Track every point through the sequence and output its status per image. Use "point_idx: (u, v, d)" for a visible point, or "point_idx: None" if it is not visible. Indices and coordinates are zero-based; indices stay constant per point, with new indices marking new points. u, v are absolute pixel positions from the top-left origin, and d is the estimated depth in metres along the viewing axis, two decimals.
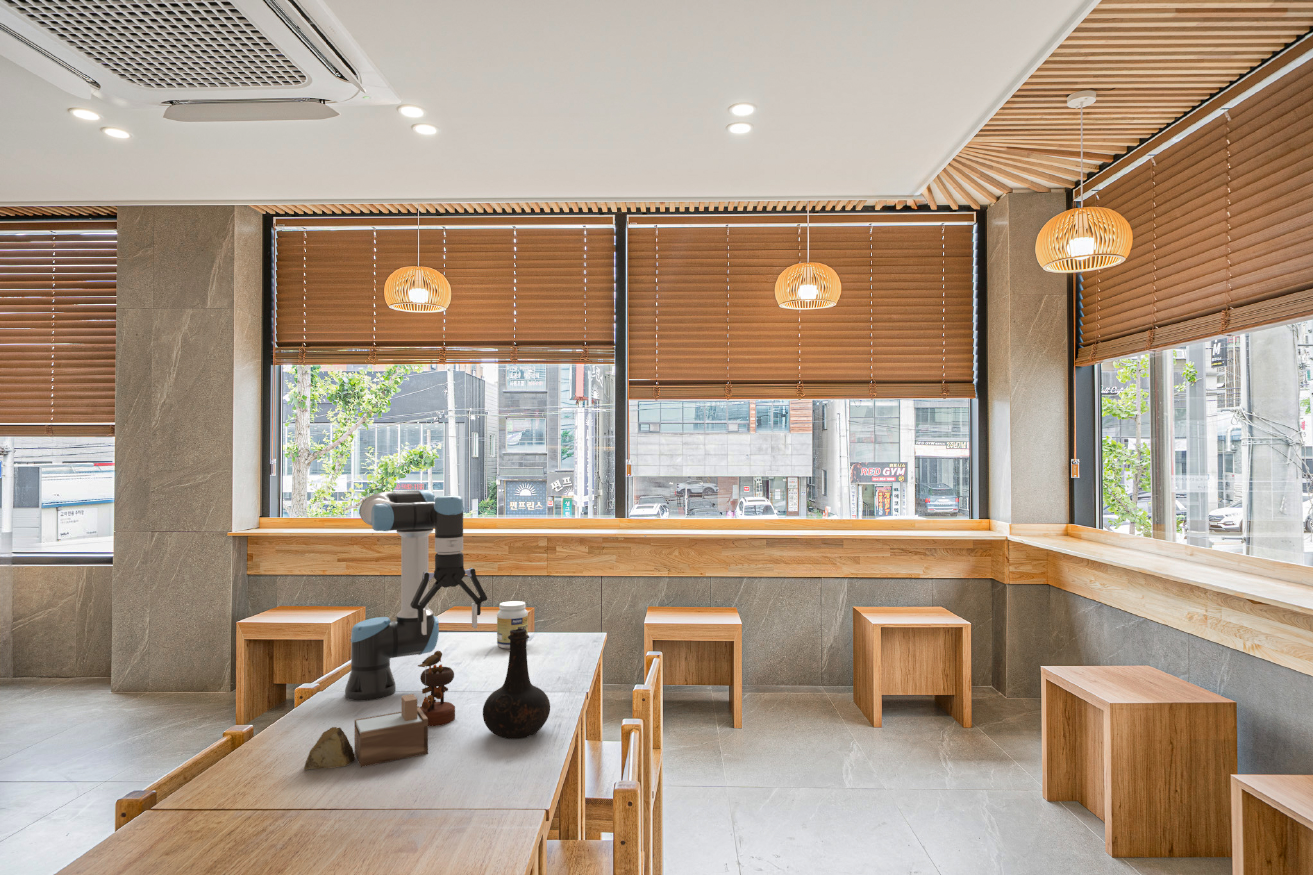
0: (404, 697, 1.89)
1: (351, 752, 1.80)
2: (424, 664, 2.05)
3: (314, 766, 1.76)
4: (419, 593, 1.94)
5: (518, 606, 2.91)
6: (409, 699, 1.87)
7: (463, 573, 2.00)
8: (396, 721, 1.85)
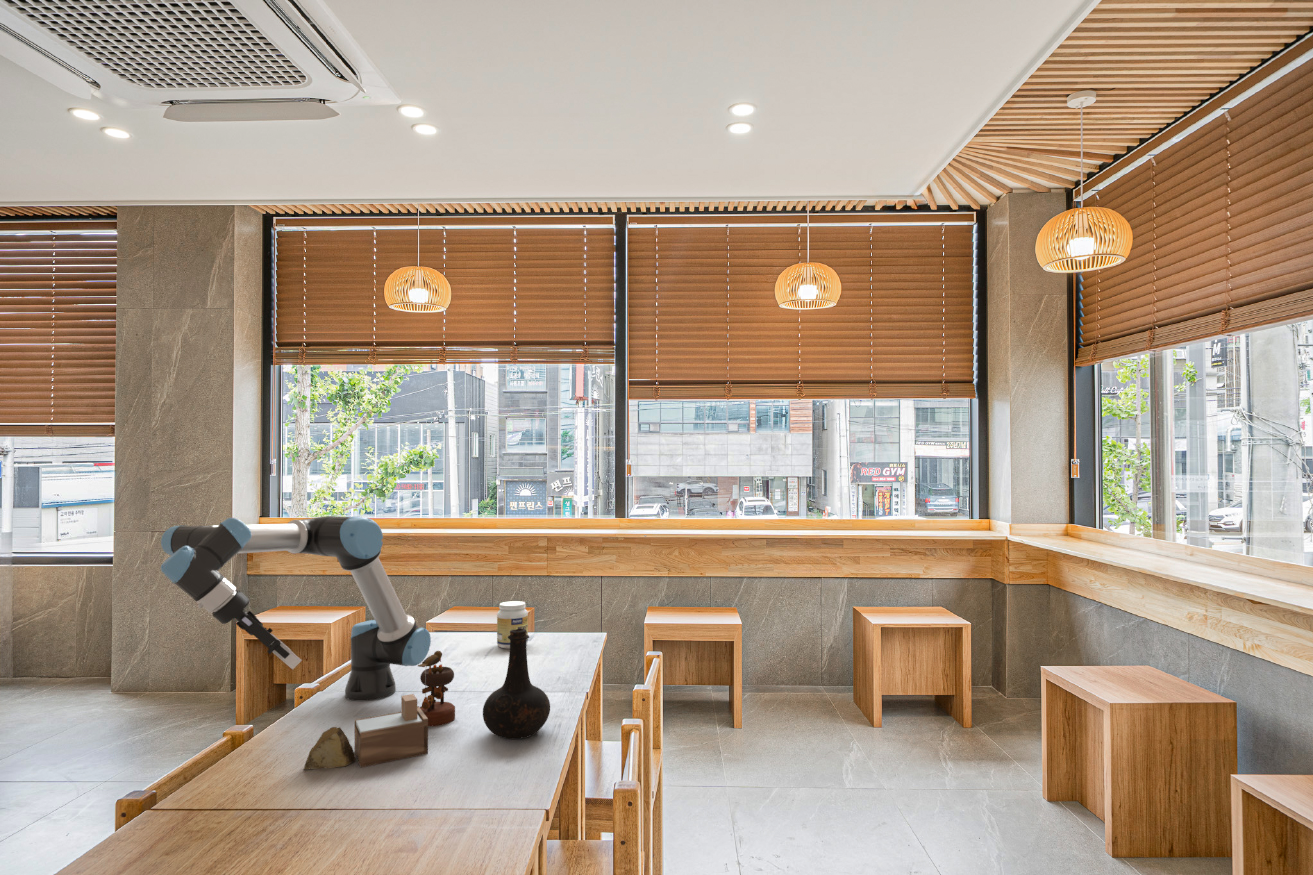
0: (404, 697, 1.89)
1: (351, 752, 1.80)
2: (424, 664, 2.05)
3: (314, 766, 1.76)
4: None
5: (518, 606, 2.91)
6: (409, 699, 1.87)
7: None
8: (396, 721, 1.85)
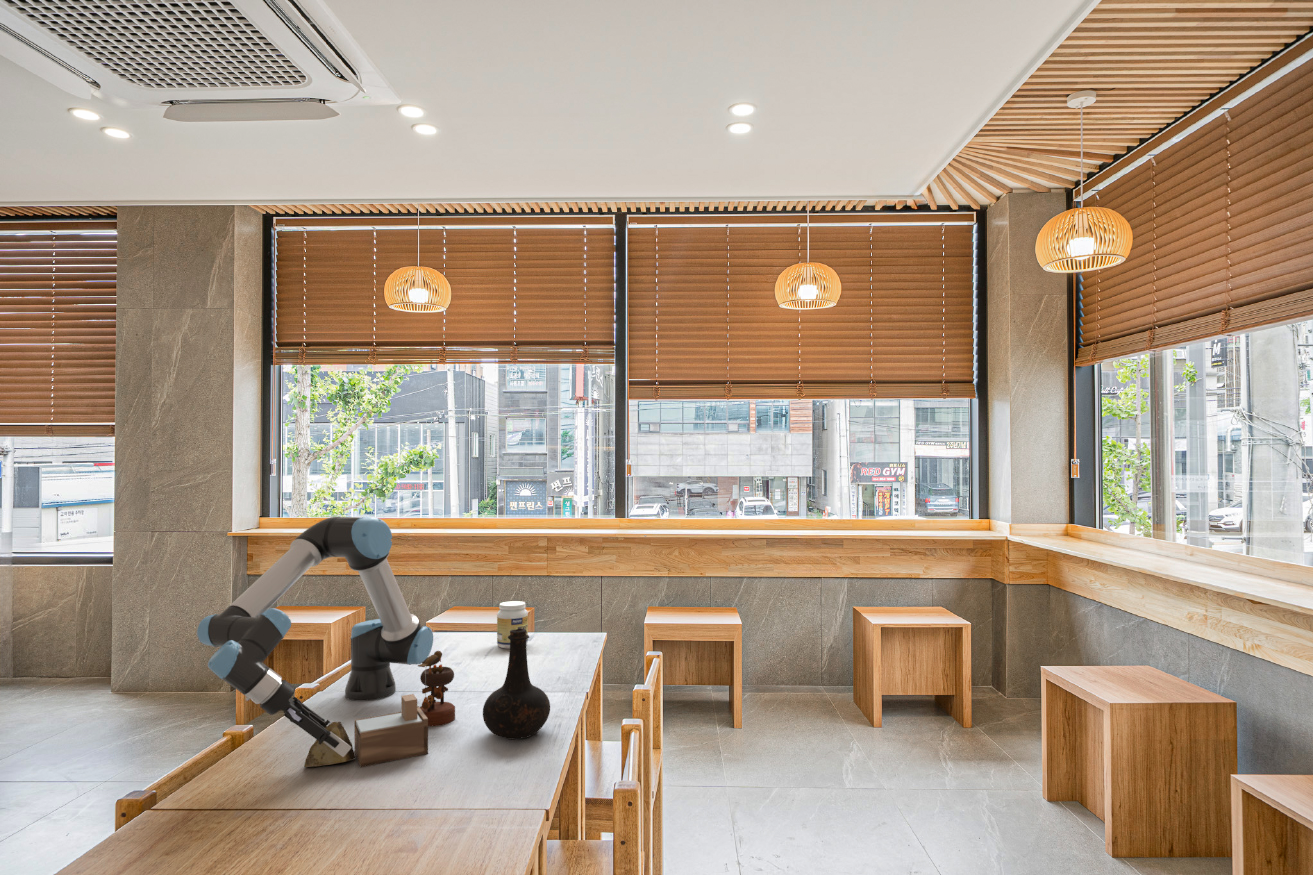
0: (404, 697, 1.89)
1: (351, 749, 1.81)
2: (424, 664, 2.05)
3: (314, 763, 1.77)
4: None
5: (518, 606, 2.91)
6: (409, 699, 1.87)
7: (287, 714, 1.71)
8: (396, 721, 1.85)
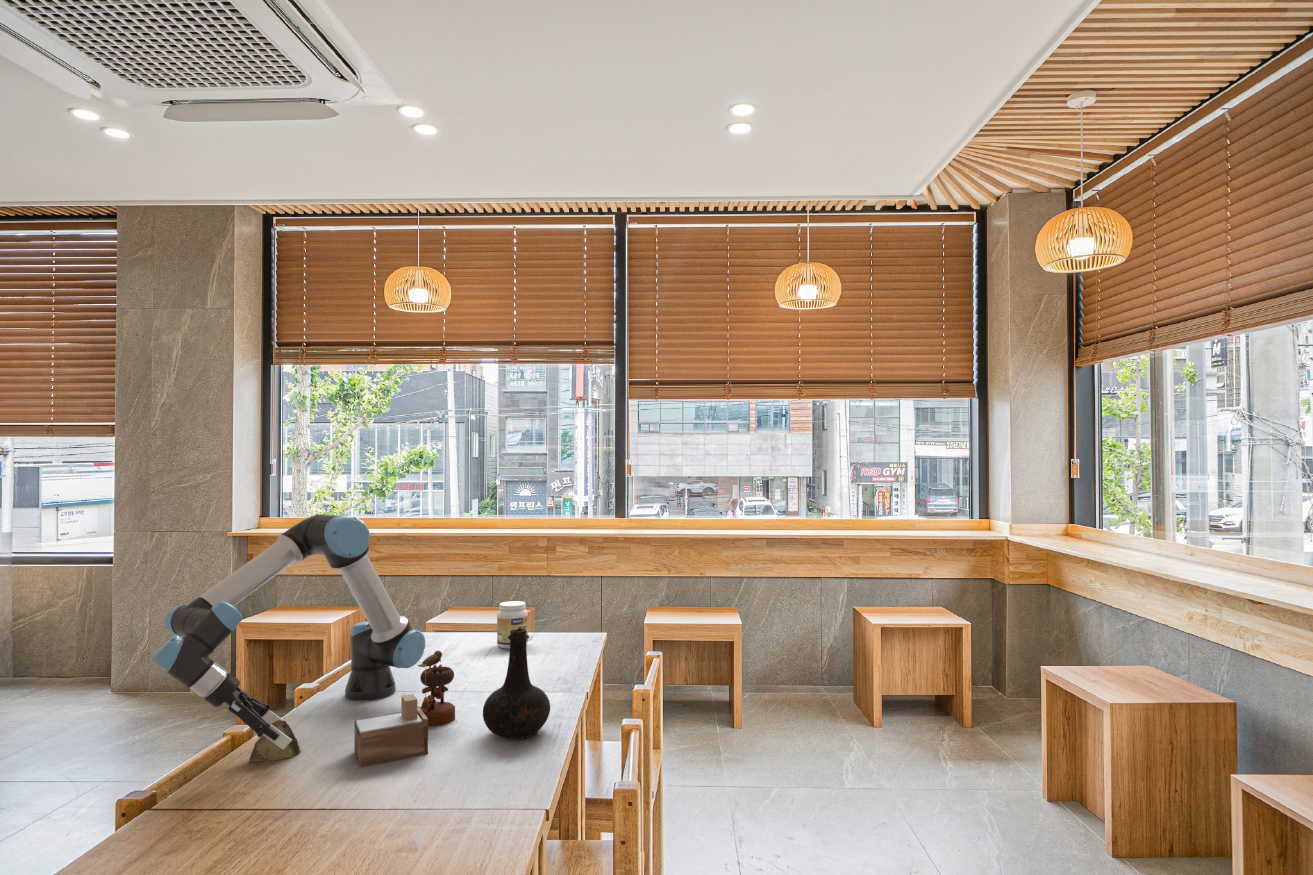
0: (404, 697, 1.89)
1: (296, 744, 1.85)
2: (424, 664, 2.05)
3: (259, 758, 1.81)
4: None
5: (518, 606, 2.91)
6: (409, 699, 1.87)
7: None
8: (396, 721, 1.85)
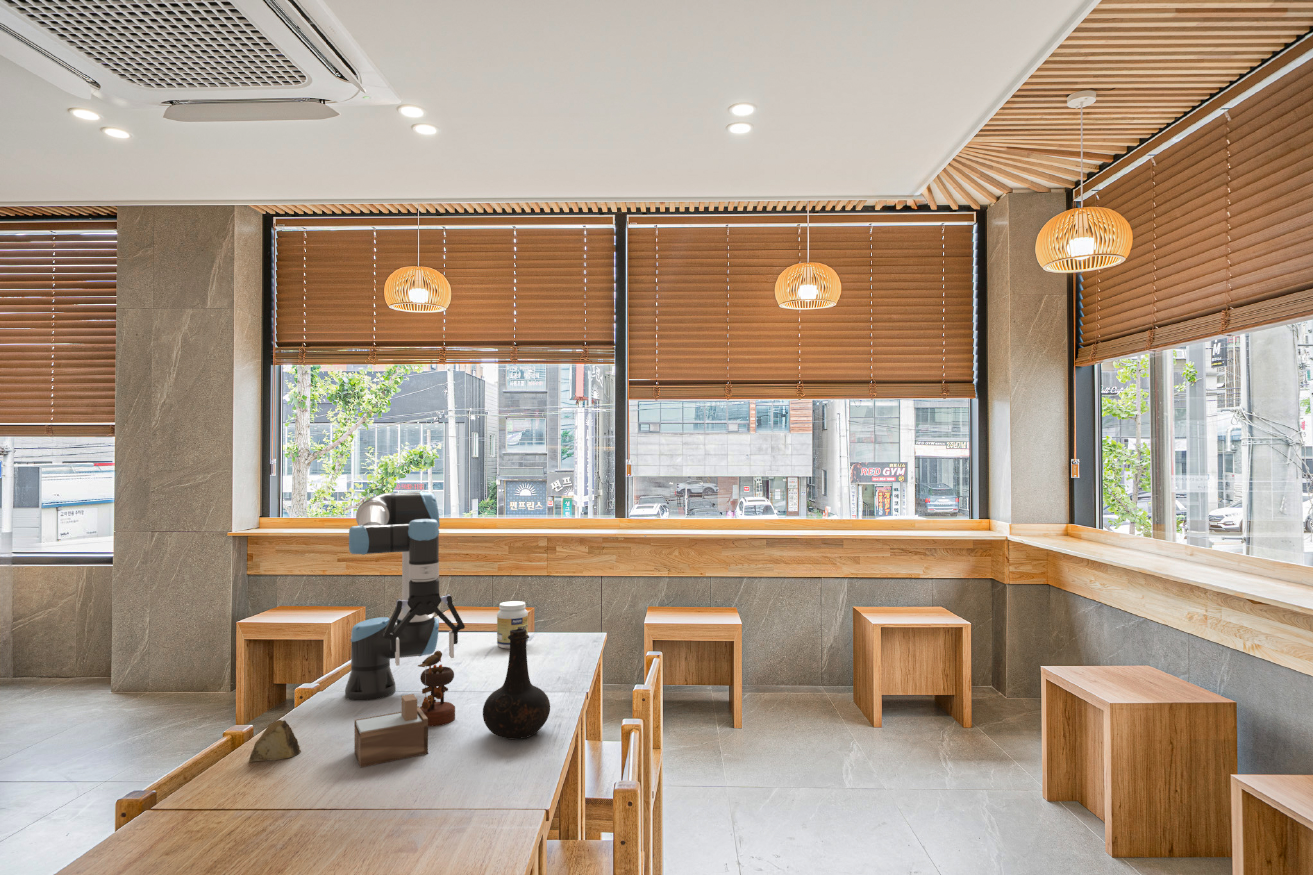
0: (404, 697, 1.89)
1: (296, 744, 1.86)
2: (424, 664, 2.05)
3: (259, 758, 1.81)
4: (391, 622, 1.85)
5: (518, 606, 2.91)
6: (409, 699, 1.87)
7: (439, 600, 1.91)
8: (396, 721, 1.85)
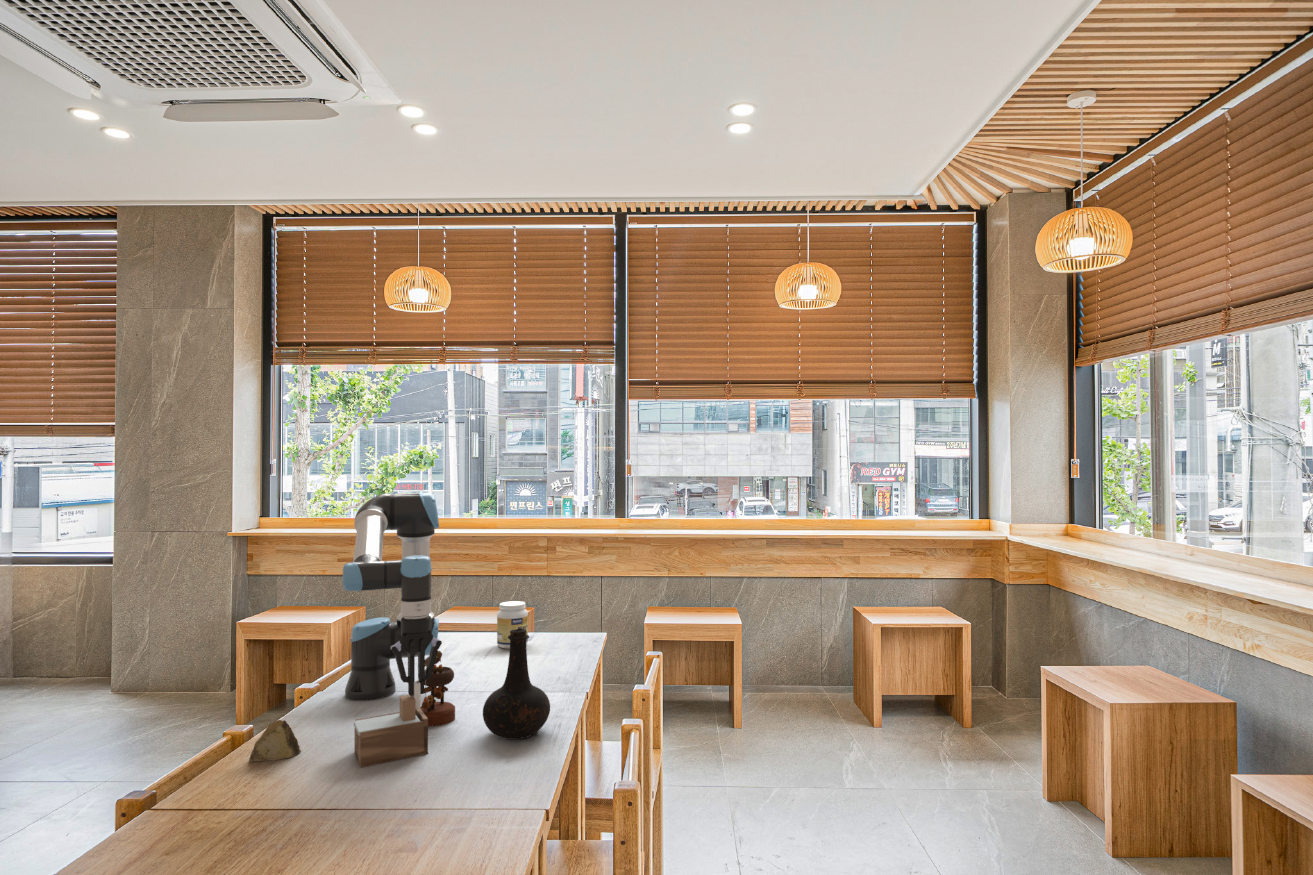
0: (402, 697, 1.88)
1: (296, 744, 1.86)
2: None
3: (259, 758, 1.81)
4: (400, 667, 1.87)
5: (518, 606, 2.91)
6: (407, 699, 1.87)
7: (431, 637, 1.91)
8: (394, 721, 1.85)
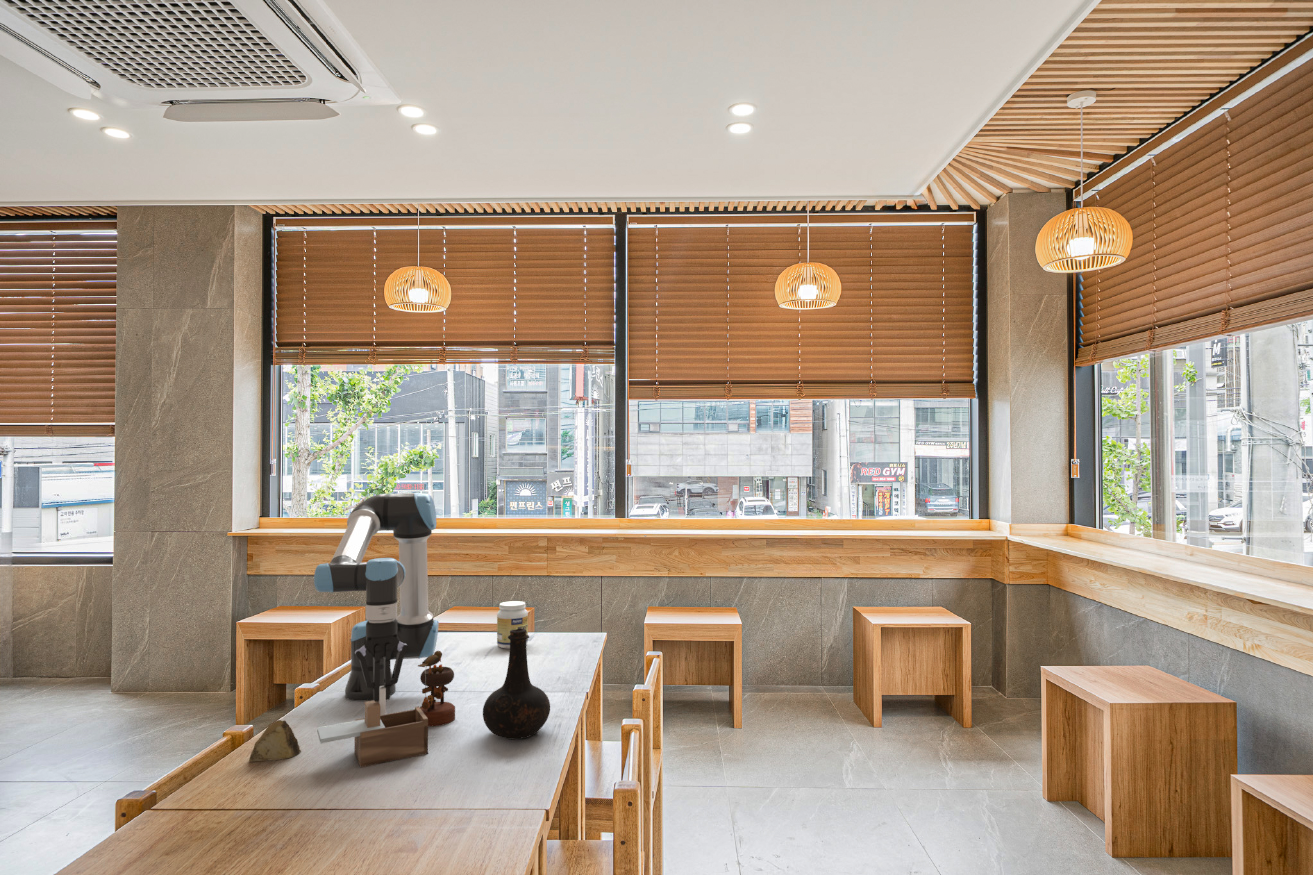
0: (367, 703, 1.84)
1: (296, 744, 1.86)
2: (424, 664, 2.05)
3: (259, 758, 1.81)
4: (365, 672, 1.82)
5: (518, 606, 2.90)
6: (372, 705, 1.83)
7: (397, 642, 1.87)
8: (358, 727, 1.81)
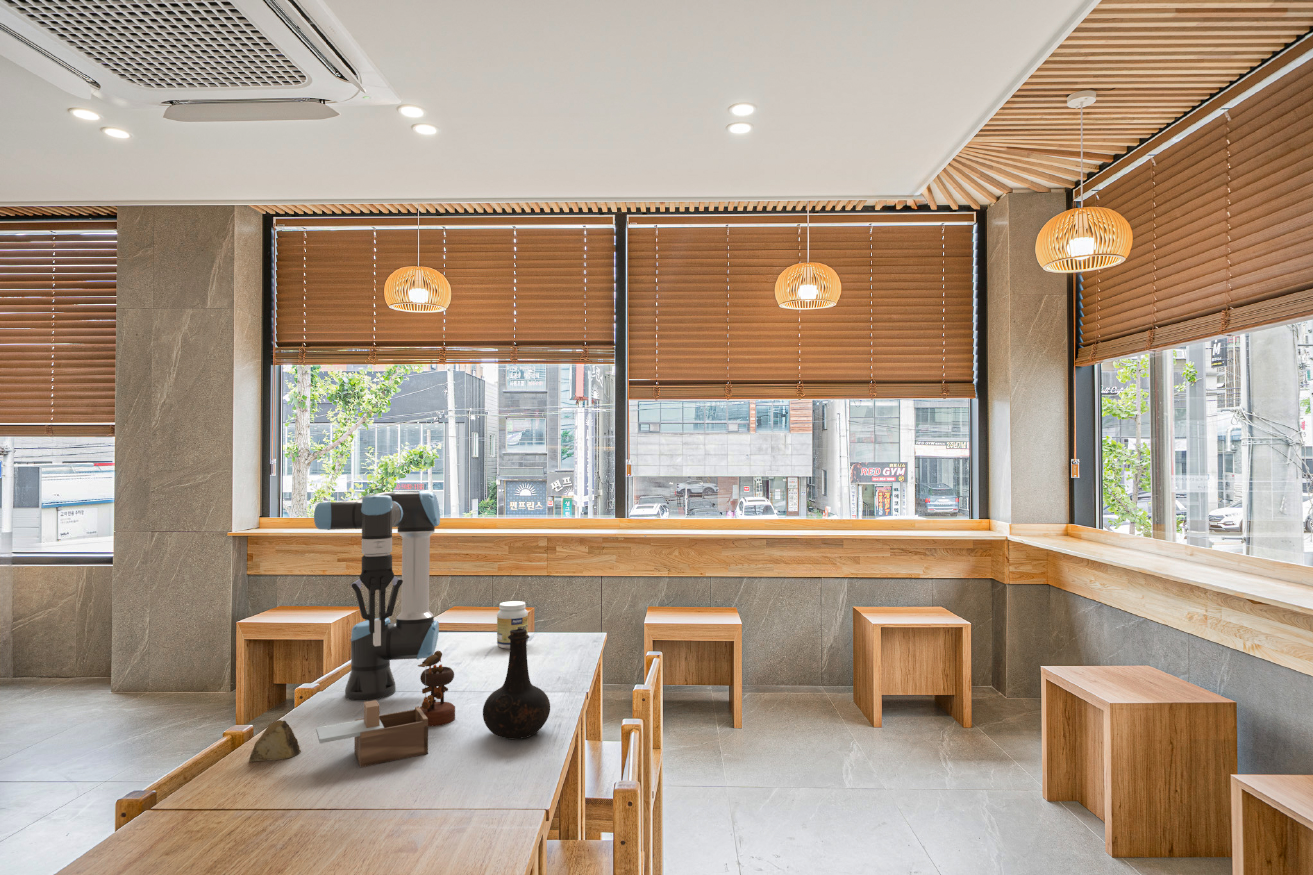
0: (366, 703, 1.84)
1: (296, 744, 1.86)
2: (424, 664, 2.05)
3: (259, 758, 1.81)
4: (360, 604, 1.88)
5: (518, 606, 2.91)
6: (371, 705, 1.82)
7: (392, 576, 1.92)
8: (357, 728, 1.81)
